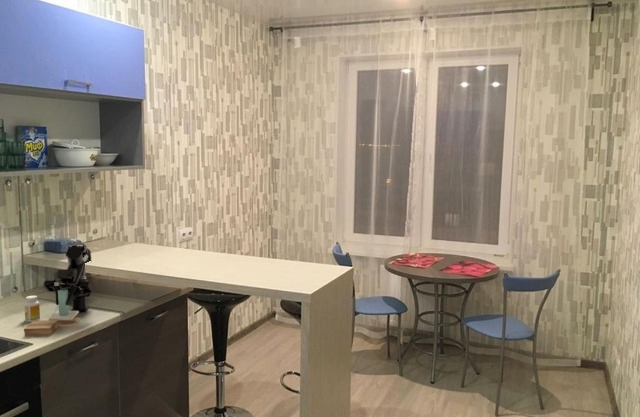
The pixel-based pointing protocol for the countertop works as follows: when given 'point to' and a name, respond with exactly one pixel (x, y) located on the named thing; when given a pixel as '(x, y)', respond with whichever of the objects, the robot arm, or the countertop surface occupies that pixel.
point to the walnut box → (41, 328)
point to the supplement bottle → (32, 309)
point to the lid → (63, 308)
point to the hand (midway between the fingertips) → (61, 304)
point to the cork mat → (68, 322)
